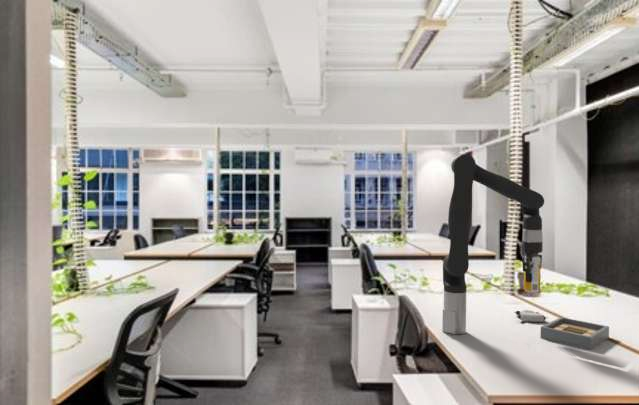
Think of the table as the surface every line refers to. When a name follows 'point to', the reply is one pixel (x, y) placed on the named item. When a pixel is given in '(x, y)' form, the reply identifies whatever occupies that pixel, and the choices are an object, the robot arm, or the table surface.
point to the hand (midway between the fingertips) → (532, 280)
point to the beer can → (533, 277)
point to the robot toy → (530, 316)
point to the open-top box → (573, 338)
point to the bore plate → (575, 329)
